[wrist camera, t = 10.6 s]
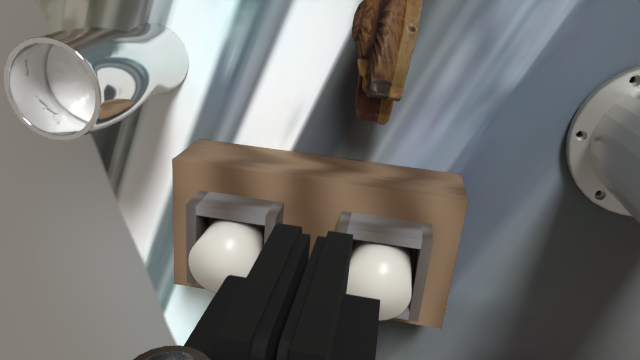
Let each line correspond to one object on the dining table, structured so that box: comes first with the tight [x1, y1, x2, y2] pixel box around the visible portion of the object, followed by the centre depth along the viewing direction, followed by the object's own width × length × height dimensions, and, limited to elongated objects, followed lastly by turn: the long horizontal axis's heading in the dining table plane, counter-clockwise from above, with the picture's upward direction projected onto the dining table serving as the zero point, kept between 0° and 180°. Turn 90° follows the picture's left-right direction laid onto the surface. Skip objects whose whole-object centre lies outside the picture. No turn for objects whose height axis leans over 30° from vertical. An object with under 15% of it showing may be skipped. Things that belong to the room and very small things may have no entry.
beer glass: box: [3, 23, 188, 141], centre depth 40 cm, size 7×7×15 cm
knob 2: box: [346, 240, 412, 320], centre depth 41 cm, size 5×5×5 cm
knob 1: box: [188, 218, 265, 293], centre depth 42 cm, size 5×5×5 cm
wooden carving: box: [352, 0, 423, 125], centre depth 38 cm, size 16×5×10 cm, turn 176°
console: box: [172, 139, 468, 329], centre depth 46 cm, size 24×12×9 cm, turn 84°
